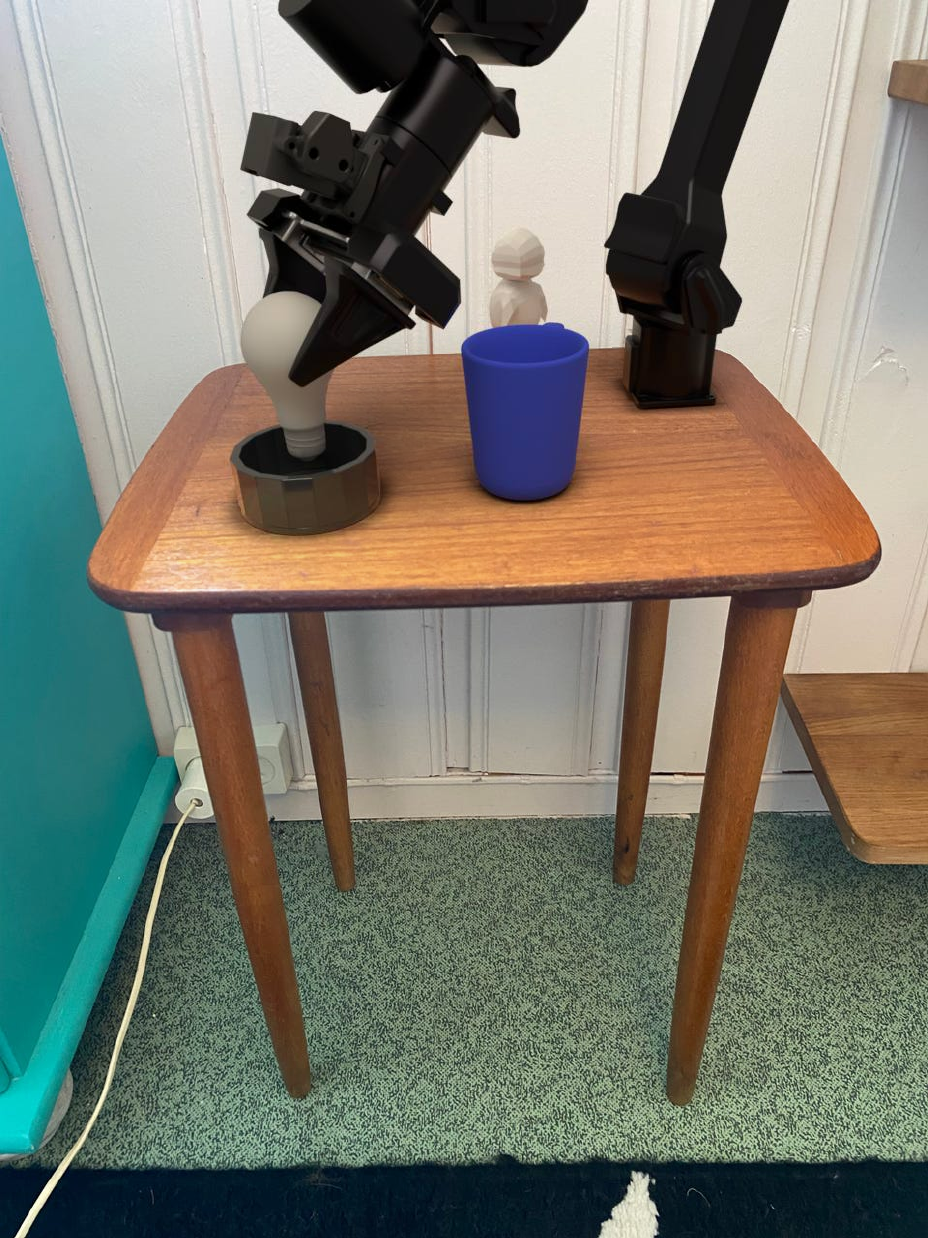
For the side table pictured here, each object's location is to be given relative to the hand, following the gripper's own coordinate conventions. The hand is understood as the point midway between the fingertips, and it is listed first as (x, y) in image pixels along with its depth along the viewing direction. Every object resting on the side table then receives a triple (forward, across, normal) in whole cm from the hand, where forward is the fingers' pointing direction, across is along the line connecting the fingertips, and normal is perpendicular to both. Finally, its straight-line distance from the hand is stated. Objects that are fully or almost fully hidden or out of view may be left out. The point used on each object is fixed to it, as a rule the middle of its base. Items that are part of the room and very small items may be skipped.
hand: (273, 368), depth 57 cm
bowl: (+6, 0, +8) cm, 10 cm away
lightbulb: (+4, 0, +6) cm, 7 cm away
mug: (-4, +6, +18) cm, 20 cm away
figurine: (-13, -14, +27) cm, 33 cm away
